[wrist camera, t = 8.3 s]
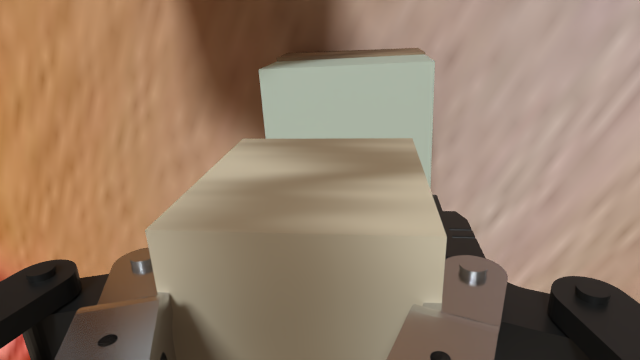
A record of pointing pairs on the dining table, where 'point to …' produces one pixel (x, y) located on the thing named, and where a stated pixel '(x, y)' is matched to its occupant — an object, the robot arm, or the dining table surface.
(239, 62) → the dining table surface
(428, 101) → the sage slab
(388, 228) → the maple block
